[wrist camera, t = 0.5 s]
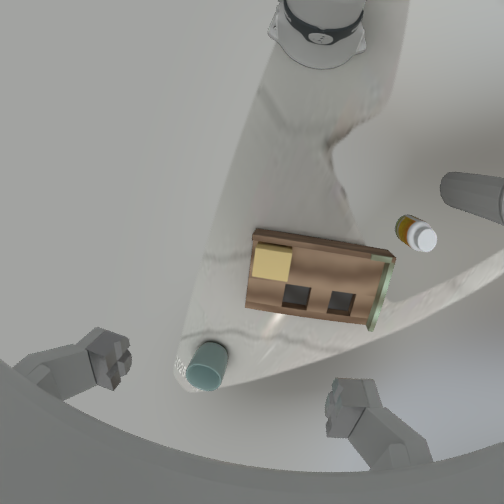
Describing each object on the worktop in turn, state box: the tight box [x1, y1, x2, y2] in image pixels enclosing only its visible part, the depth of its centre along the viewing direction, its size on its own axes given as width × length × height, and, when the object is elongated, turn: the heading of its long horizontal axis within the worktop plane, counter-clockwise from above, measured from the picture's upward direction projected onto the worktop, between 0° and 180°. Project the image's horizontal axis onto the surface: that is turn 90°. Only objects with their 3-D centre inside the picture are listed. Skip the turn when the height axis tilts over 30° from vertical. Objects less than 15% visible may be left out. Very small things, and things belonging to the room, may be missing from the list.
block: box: [252, 241, 292, 282], centre depth 48 cm, size 5×6×5 cm
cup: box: [186, 342, 228, 391], centre depth 57 cm, size 8×8×10 cm
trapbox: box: [245, 228, 396, 332], centre depth 51 cm, size 16×26×6 cm, turn 83°
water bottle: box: [440, 172, 504, 225], centre depth 32 cm, size 9×8×25 cm
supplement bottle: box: [395, 215, 437, 252], centre depth 44 cm, size 5×5×10 cm
